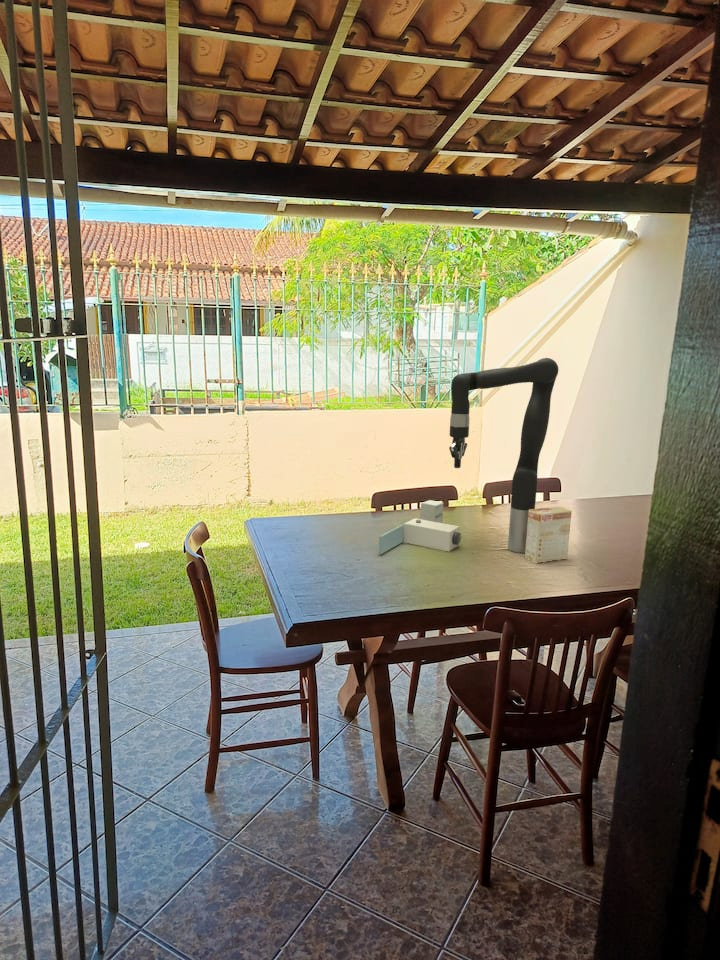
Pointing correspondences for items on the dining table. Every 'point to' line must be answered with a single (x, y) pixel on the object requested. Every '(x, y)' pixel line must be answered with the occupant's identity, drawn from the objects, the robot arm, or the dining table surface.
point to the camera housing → (431, 534)
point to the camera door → (391, 539)
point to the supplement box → (432, 511)
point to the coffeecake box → (548, 534)
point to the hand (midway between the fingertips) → (457, 467)
